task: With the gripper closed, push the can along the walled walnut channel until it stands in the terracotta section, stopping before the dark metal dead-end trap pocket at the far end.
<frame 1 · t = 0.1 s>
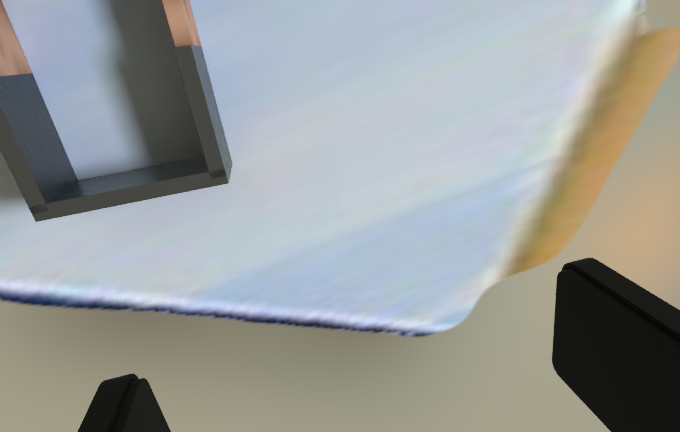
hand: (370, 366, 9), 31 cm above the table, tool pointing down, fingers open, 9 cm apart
channel: (91, 5, 32), on the table
trap pocket: (122, 129, 32), on the table
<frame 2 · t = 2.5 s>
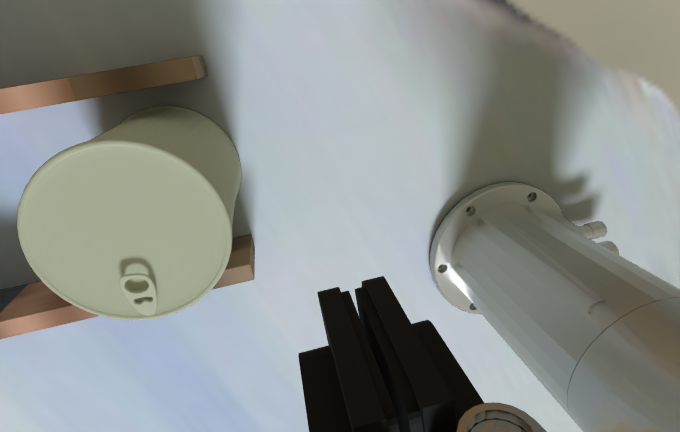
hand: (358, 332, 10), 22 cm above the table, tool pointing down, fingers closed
channel: (50, 197, 28), on the table
can: (175, 171, 30), on the table
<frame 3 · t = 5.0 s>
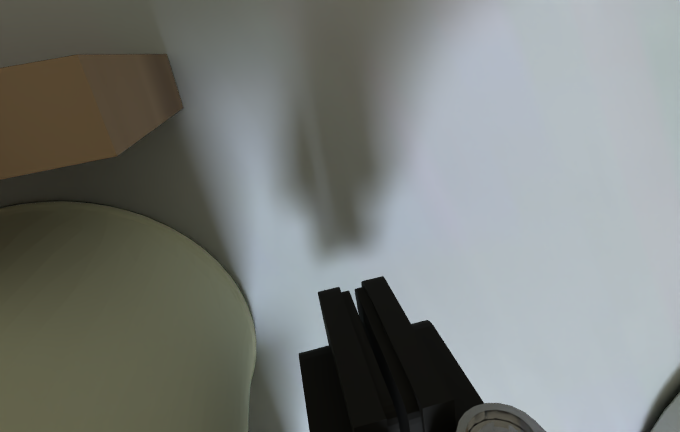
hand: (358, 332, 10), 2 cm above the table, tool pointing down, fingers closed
can: (92, 349, 12), on the table, touching gripper
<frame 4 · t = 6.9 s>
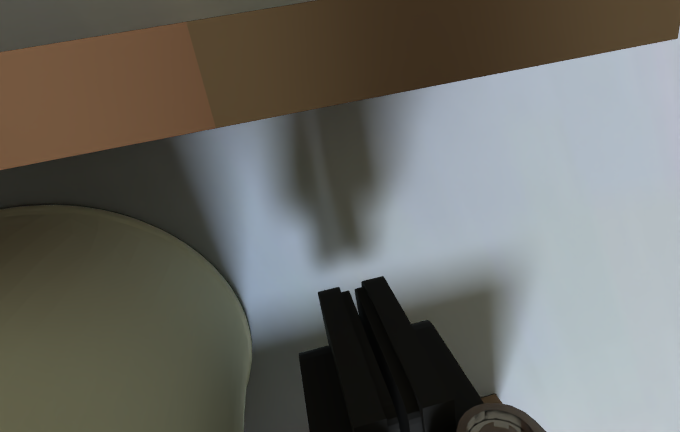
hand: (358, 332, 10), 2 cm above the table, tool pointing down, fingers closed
channel: (72, 356, 11), on the table
can: (85, 354, 12), on the table, touching gripper
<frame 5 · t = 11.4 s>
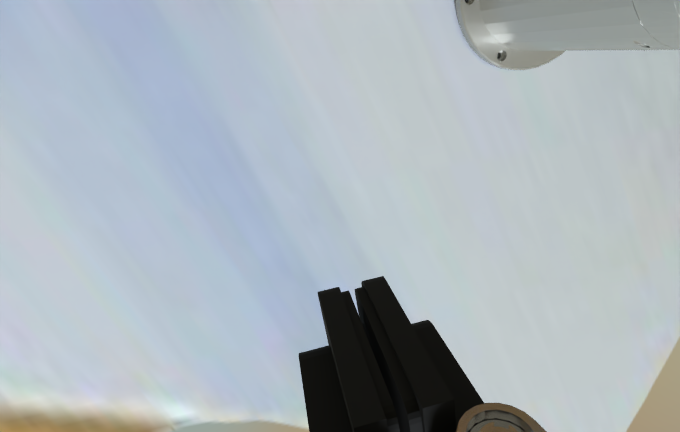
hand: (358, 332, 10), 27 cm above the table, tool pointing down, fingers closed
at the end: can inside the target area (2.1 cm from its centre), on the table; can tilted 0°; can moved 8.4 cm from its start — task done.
